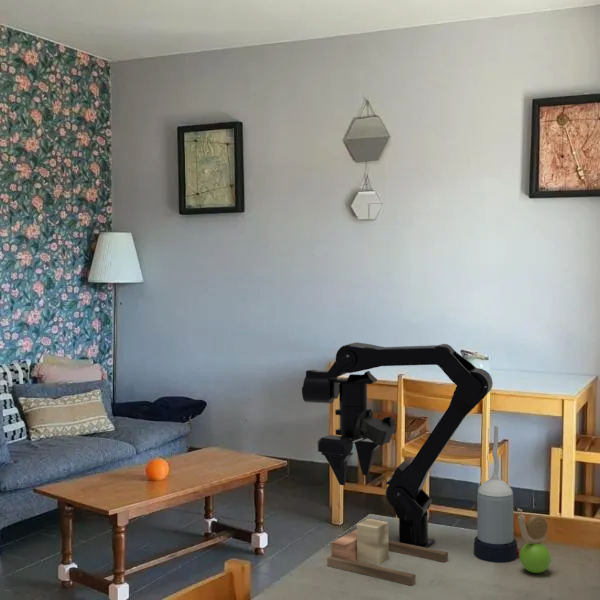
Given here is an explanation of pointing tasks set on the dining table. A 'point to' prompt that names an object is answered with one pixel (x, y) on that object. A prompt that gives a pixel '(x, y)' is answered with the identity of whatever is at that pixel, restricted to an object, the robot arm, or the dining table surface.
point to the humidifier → (495, 517)
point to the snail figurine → (534, 543)
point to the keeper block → (372, 541)
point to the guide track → (347, 556)
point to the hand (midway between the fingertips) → (354, 480)
